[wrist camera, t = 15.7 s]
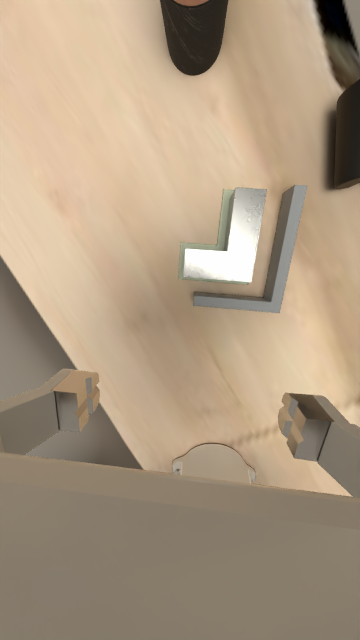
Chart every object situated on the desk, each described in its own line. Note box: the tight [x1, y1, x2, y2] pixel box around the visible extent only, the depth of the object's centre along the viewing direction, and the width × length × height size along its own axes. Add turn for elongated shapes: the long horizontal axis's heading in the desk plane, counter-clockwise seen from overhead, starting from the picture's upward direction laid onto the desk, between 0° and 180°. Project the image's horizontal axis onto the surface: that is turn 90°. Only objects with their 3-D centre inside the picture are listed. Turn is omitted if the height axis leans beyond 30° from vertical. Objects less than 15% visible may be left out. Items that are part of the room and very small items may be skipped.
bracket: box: [183, 188, 267, 282], centre depth 32 cm, size 10×12×5 cm
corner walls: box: [193, 185, 307, 313], centre depth 33 cm, size 18×14×4 cm
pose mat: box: [178, 190, 249, 285], centre depth 34 cm, size 14×12×1 cm
